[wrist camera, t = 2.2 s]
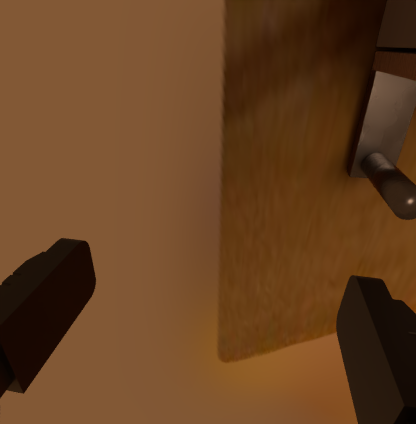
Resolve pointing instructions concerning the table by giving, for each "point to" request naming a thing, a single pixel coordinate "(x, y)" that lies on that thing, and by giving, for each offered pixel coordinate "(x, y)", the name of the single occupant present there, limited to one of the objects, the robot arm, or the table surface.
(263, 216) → the table surface
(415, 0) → the block
